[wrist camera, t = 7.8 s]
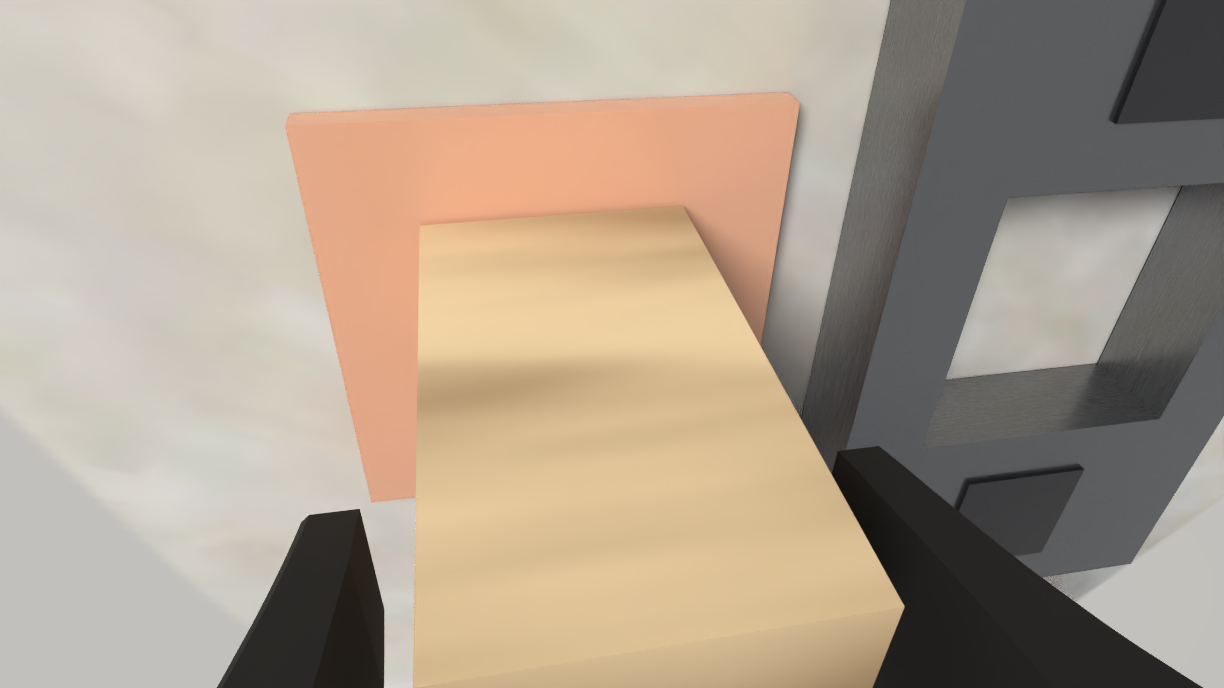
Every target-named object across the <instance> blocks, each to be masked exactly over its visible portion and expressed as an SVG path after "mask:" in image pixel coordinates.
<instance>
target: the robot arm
mask: <svg viewBox="0 0 1224 688" xmlns="http://www.w3.org/2000/svg"><path fill="white" fill-rule="evenodd" d="M832 476H833V478H834V480H835V482H836V484H837V485H838V487H839V489H840V491H841V493H842V494H843V496H844V498H845V500H846V502H847V503H848V505H849V507H850V509H851V511H852V512H853V514H854V516H855V518H856V520H857V521H858V523H859V525H860V527H861V529H862V531H863V532H864V534H865V536H866V538H867V540H868V541H869V543H870V545H871V547H872V549H873V550H874V552H875V554H876V556H877V558H878V559H879V561H880V563H881V565H882V567H883V568H884V570H885V572H886V574H887V576H888V578H889V579H890V581H891V583H892V585H893V587H894V588H895V590H896V592H897V594H898V596H899V597H900V599H901V601H902V603H903V605H904V606H905V607H904V610H903V612H902V615H901V617H900V620H899V622H898V625H897V627H896V630H895V632H894V635H893V637H892V640H891V642H890V645H889V647H888V650H887V652H886V655H885V657H884V660H883V662H882V665H881V667H880V670H879V672H878V675H877V678H876V680H875V683H874V685H873V688H1203V687H1201V686H1199V685H1198V684H1196V683H1194V682H1193V681H1191V680H1190V679H1188V678H1187V677H1185V676H1184V675H1182V674H1180V673H1179V672H1177V671H1176V670H1174V669H1173V668H1171V667H1169V666H1168V665H1166V664H1165V663H1163V662H1162V661H1160V660H1159V659H1157V658H1156V657H1154V656H1153V655H1151V654H1149V653H1148V652H1146V651H1145V650H1143V649H1141V648H1140V647H1138V646H1137V645H1135V644H1134V643H1132V642H1131V641H1129V640H1128V639H1127V638H1125V637H1124V636H1122V635H1121V634H1119V633H1118V632H1116V631H1115V630H1113V629H1112V628H1110V627H1109V626H1108V625H1106V624H1105V623H1103V622H1102V621H1100V620H1099V619H1098V618H1096V617H1095V616H1094V615H1092V614H1091V613H1089V612H1088V611H1087V610H1085V609H1084V608H1083V607H1081V606H1080V605H1078V604H1077V603H1076V602H1074V601H1073V600H1071V599H1070V598H1069V597H1067V596H1066V595H1065V594H1063V593H1062V592H1060V591H1059V590H1058V589H1056V588H1055V587H1054V586H1052V585H1051V584H1050V583H1048V582H1047V581H1046V580H1044V579H1043V578H1042V577H1040V576H1039V575H1038V574H1036V573H1035V572H1034V571H1032V570H1031V569H1030V568H1028V567H1027V566H1026V565H1025V564H1023V563H1022V562H1021V561H1020V560H1018V559H1017V558H1016V557H1014V556H1013V555H1012V554H1011V553H1009V552H1008V551H1007V550H1005V549H1004V548H1003V547H1002V546H1000V545H999V544H998V543H997V542H995V541H994V540H993V539H992V538H990V537H989V536H988V535H987V534H985V533H984V532H983V531H982V530H981V529H979V528H978V527H977V526H976V525H974V524H973V523H972V522H971V521H969V520H968V519H967V518H966V517H965V516H963V515H962V514H961V513H960V512H959V511H957V510H956V509H955V508H954V507H953V506H951V505H950V504H949V503H948V502H946V501H945V500H944V499H943V498H942V497H940V496H939V495H938V494H937V493H936V492H934V491H933V490H932V489H931V488H930V487H928V486H927V485H926V484H925V483H924V482H922V481H921V480H920V479H919V478H918V477H916V476H915V475H914V474H913V473H912V472H910V471H909V470H908V469H907V468H906V467H904V466H903V465H902V464H901V463H900V462H898V461H897V460H896V459H895V458H893V457H892V456H891V455H890V454H888V453H887V452H886V451H885V450H883V449H882V448H881V447H880V446H875V447H866V448H858V449H850V450H842V451H838V452H837V456H836V460H835V463H834V467H833V471H832ZM217 688H384V607H383V603H382V599H381V595H380V591H379V586H378V582H377V578H376V574H375V570H374V566H373V562H372V558H371V554H370V550H369V545H368V541H367V537H366V533H365V529H364V525H363V521H362V517H361V513H360V509H355V510H347V511H339V512H331V513H322V514H314V515H309V516H308V517H307V518H305V519H304V520H303V521H302V522H301V524H300V527H299V529H298V531H297V534H296V536H295V538H294V541H293V543H292V545H291V547H290V549H289V551H288V554H287V556H286V558H285V560H284V562H283V564H282V567H281V569H280V571H279V573H278V575H277V577H276V579H275V581H274V583H273V585H272V587H271V589H270V591H269V593H268V595H267V597H266V599H265V601H264V603H263V605H262V607H261V608H260V610H259V612H258V614H257V616H256V618H255V620H254V622H253V624H252V626H251V627H250V629H249V631H248V633H247V635H246V637H245V638H244V640H243V642H242V644H241V646H240V648H239V649H238V651H237V653H236V655H235V656H234V658H233V660H232V662H231V664H230V665H229V667H228V669H227V671H226V673H225V674H224V676H223V678H222V680H221V681H220V683H219V685H218V687H217Z"/></svg>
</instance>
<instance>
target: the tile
mask: <svg viewBox="0 0 1224 688" xmlns="http://www.w3.org/2000/svg"><path fill="white" fill-rule="evenodd" d="M799 106H800V102H799V101H798V100H797V99H796V98H795V97H794V96H793V95H792V94H790V93H789V92H784V93H761V94H738V95H714V96H691V97H668V98H644V99H621V100H598V101H575V102H551V103H528V104H505V105H481V106H458V107H435V108H412V109H388V110H365V111H342V112H318V113H295V114H290V115H289V117H288V120H287V122H286V124H285V128H286V132H287V136H288V141H289V145H290V149H291V154H292V158H293V162H294V167H295V171H296V175H297V180H298V184H299V189H300V193H301V197H302V202H303V206H304V210H305V215H306V219H307V223H308V228H309V232H310V236H311V241H312V245H313V250H314V254H315V258H316V263H317V267H318V271H319V276H320V280H321V284H322V289H323V293H324V297H325V302H326V306H327V310H328V315H329V319H330V324H331V328H332V332H333V337H334V341H335V345H336V350H337V354H338V358H339V363H340V367H341V371H342V376H343V380H344V385H345V389H346V393H347V398H348V402H349V406H350V411H351V415H352V419H353V424H354V428H355V432H356V437H357V441H358V445H359V450H360V454H361V459H362V463H363V467H364V472H365V476H366V480H367V485H368V489H369V493H370V498H371V502H380V501H389V500H397V499H405V498H413V497H416V443H417V373H418V304H419V235H420V225H433V224H447V223H460V222H473V221H486V220H499V219H512V218H525V217H538V216H551V215H564V214H577V213H590V212H603V211H616V210H629V209H642V208H655V207H668V206H681V205H683V207H684V209H685V211H686V212H687V214H688V216H689V218H690V220H691V221H692V223H693V225H694V227H695V229H696V230H697V232H698V234H699V236H700V238H701V239H702V241H703V243H704V245H705V247H706V249H707V250H708V252H709V254H710V256H711V258H712V259H713V261H714V263H715V265H716V267H717V268H718V270H719V272H720V274H721V276H722V277H723V279H724V281H725V283H726V285H727V286H728V288H729V290H730V292H731V294H732V296H733V297H734V299H735V301H736V303H737V305H738V306H739V308H740V310H741V312H742V314H743V315H744V317H745V319H746V321H747V323H748V324H749V326H750V328H751V330H752V332H753V333H754V335H755V337H756V339H757V341H758V343H759V344H760V346H761V341H762V335H763V328H764V322H765V316H766V310H767V304H768V298H769V291H770V285H771V279H772V273H773V267H774V261H775V254H776V248H777V242H778V236H779V230H780V224H781V217H782V211H783V205H784V199H785V193H786V187H787V180H788V174H789V168H790V162H791V156H792V150H793V143H794V137H795V131H796V125H797V119H798V113H799Z"/></svg>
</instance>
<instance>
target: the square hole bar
mask: <svg viewBox="0 0 1224 688" xmlns="http://www.w3.org/2000/svg"><path fill="white" fill-rule="evenodd" d="M1169 186H1183V187H1182V189H1181V191H1180V193H1179V195H1178V197H1177V199H1176V201H1175V203H1174V205H1173V208H1172V210H1171V212H1170V214H1169V216H1168V218H1167V220H1166V222H1165V224H1164V226H1163V228H1162V230H1161V233H1160V235H1159V237H1158V239H1157V241H1156V243H1155V245H1154V247H1153V249H1152V251H1151V253H1150V255H1149V258H1148V260H1147V262H1146V264H1145V266H1144V268H1143V270H1142V272H1141V274H1140V276H1139V278H1138V280H1137V282H1136V285H1135V287H1134V289H1133V291H1132V293H1131V295H1130V297H1129V299H1128V301H1127V303H1126V305H1125V307H1124V310H1123V312H1122V314H1121V316H1120V318H1119V320H1118V322H1117V324H1116V326H1115V328H1114V330H1113V332H1112V334H1111V337H1110V339H1109V341H1108V343H1107V345H1106V347H1105V349H1104V351H1103V353H1102V355H1101V357H1100V359H1099V362H1098V364H1090V365H1080V366H1071V367H1062V368H1053V369H1043V370H1034V371H1025V372H1016V373H1007V374H997V375H988V376H979V377H970V378H961V379H951V380H945V379H946V376H947V373H948V370H949V367H950V364H951V361H952V358H953V356H954V353H955V350H956V347H957V344H958V341H959V338H960V335H961V332H962V329H963V326H964V324H965V321H966V318H967V315H968V312H969V309H970V306H971V303H972V300H973V297H974V294H975V291H976V289H977V286H978V283H979V280H980V277H981V274H982V271H983V268H984V265H985V262H986V259H987V256H988V254H989V251H990V248H991V245H992V242H993V239H994V236H995V233H996V230H997V227H998V224H999V221H1000V219H1001V216H1002V213H1003V210H1004V207H1005V204H1006V201H1007V198H1010V197H1024V196H1039V195H1053V194H1068V193H1082V192H1097V191H1111V190H1126V189H1140V188H1155V187H1169ZM1223 416H1224V0H891V3H890V7H889V12H888V17H887V21H886V26H885V31H884V35H883V40H882V45H881V49H880V54H879V59H878V63H877V68H876V73H875V77H874V82H873V87H872V91H871V96H870V101H869V105H868V110H867V115H866V119H865V124H864V129H863V133H862V138H861V143H860V147H859V152H858V157H857V161H856V166H855V171H854V175H853V180H852V185H851V189H850V194H849V199H848V204H847V208H846V213H845V218H844V222H843V227H842V232H841V236H840V241H839V246H838V250H837V255H836V260H835V264H834V269H833V274H832V278H831V283H830V288H829V292H828V297H827V302H826V306H825V311H824V316H823V320H822V325H821V330H820V334H819V339H818V344H817V348H816V353H815V358H814V362H813V367H812V372H811V376H810V381H809V386H808V390H807V395H806V400H805V404H804V409H803V414H802V418H801V420H802V422H803V424H804V426H805V427H806V429H807V431H808V433H809V435H810V437H811V438H812V440H813V442H814V444H815V446H816V447H817V449H818V451H819V453H820V455H821V456H822V458H823V460H824V462H825V464H826V465H827V467H828V469H829V471H830V473H831V474H832V471H833V467H834V463H835V460H836V456H837V452H838V451H842V450H850V449H858V448H866V447H875V446H880V447H881V448H882V449H883V450H885V451H886V452H887V453H888V454H890V455H891V456H892V457H893V458H895V459H896V460H897V461H898V462H900V463H901V464H902V465H903V466H904V467H906V468H907V469H908V470H909V471H910V472H912V473H913V474H914V475H915V476H916V477H918V478H919V479H920V480H921V481H922V482H924V483H925V484H926V485H927V486H928V487H930V488H931V489H932V490H933V491H934V492H936V493H937V494H938V495H939V496H940V497H942V498H943V499H944V500H945V501H946V502H948V503H949V504H950V505H951V506H953V507H954V508H955V509H956V510H957V511H959V512H960V513H961V514H962V515H963V516H965V517H966V518H967V519H968V520H969V521H971V522H972V523H973V524H974V525H976V526H977V527H978V528H979V529H981V530H982V531H983V532H984V533H985V534H987V535H988V536H989V537H990V538H992V539H993V540H994V541H995V542H997V543H998V544H999V545H1000V546H1002V547H1003V548H1004V549H1005V550H1007V551H1008V552H1009V553H1011V554H1012V555H1013V556H1014V557H1016V558H1017V559H1018V560H1020V561H1021V562H1022V563H1023V564H1025V565H1026V566H1027V567H1028V568H1030V569H1031V570H1032V571H1034V572H1035V573H1036V574H1038V575H1039V576H1040V577H1047V576H1054V575H1060V574H1067V573H1073V572H1079V571H1086V570H1092V569H1099V568H1105V567H1111V566H1118V565H1124V564H1131V562H1132V561H1133V559H1134V558H1135V556H1136V554H1137V553H1138V551H1139V550H1140V548H1141V546H1142V545H1143V543H1144V542H1145V540H1146V539H1147V537H1148V535H1149V534H1150V532H1151V531H1152V529H1153V527H1154V526H1155V524H1156V523H1157V521H1158V519H1159V518H1160V516H1161V515H1162V513H1163V512H1164V510H1165V508H1166V507H1167V505H1168V504H1169V502H1170V500H1171V499H1172V497H1173V496H1174V494H1175V493H1176V491H1177V489H1178V488H1179V486H1180V485H1181V483H1182V481H1183V480H1184V478H1185V477H1186V475H1187V473H1188V472H1189V470H1190V469H1191V467H1192V466H1193V464H1194V462H1195V461H1196V459H1197V458H1198V456H1199V454H1200V453H1201V451H1202V450H1203V448H1204V446H1205V445H1206V443H1207V442H1208V440H1209V439H1210V437H1211V435H1212V434H1213V432H1214V431H1215V429H1216V427H1217V426H1218V424H1219V423H1220V421H1221V419H1222V418H1223Z"/></svg>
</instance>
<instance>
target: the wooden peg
mask: <svg viewBox="0 0 1224 688" xmlns="http://www.w3.org/2000/svg"><path fill="white" fill-rule="evenodd" d="M904 607H905V606H904V605H903V603H902V601H901V599H900V597H899V596H898V594H897V592H896V590H895V588H894V587H893V585H892V583H891V581H890V579H889V578H888V576H887V574H886V572H885V570H884V568H883V567H882V565H881V563H880V561H879V559H878V558H877V556H876V554H875V552H874V550H873V549H872V547H871V545H870V543H869V541H868V540H867V538H866V536H865V534H864V532H863V531H862V529H861V527H860V525H859V523H858V521H857V520H856V518H855V516H854V514H853V512H852V511H851V509H850V507H849V505H848V503H847V502H846V500H845V498H844V496H843V494H842V493H841V491H840V489H839V487H838V485H837V484H836V482H835V480H834V478H833V476H832V474H831V473H830V471H829V469H828V467H827V465H826V464H825V462H824V460H823V458H822V456H821V455H820V453H819V451H818V449H817V447H816V446H815V444H814V442H813V440H812V438H811V437H810V435H809V433H808V431H807V429H806V427H805V426H804V424H803V422H802V420H801V418H800V417H799V415H798V413H797V411H796V409H795V408H794V406H793V404H792V402H791V400H790V399H789V397H788V395H787V393H786V391H785V390H784V388H783V386H782V384H781V382H780V380H779V379H778V377H777V375H776V373H775V371H774V370H773V368H772V366H771V364H770V362H769V361H768V359H767V357H766V355H765V353H764V352H763V350H762V348H761V346H760V344H759V343H758V341H757V339H756V337H755V335H754V333H753V332H752V330H751V328H750V326H749V324H748V323H747V321H746V319H745V317H744V315H743V314H742V312H741V310H740V308H739V306H738V305H737V303H736V301H735V299H734V297H733V296H732V294H731V292H730V290H729V288H728V286H727V285H726V283H725V281H724V279H723V277H722V276H721V274H720V272H719V270H718V268H717V267H716V265H715V263H714V261H713V259H712V258H711V256H710V254H709V252H708V250H707V249H706V247H705V245H704V243H703V241H702V239H701V238H700V236H699V234H698V232H697V230H696V229H695V227H694V225H693V223H692V221H691V220H690V218H689V216H688V214H687V212H686V211H685V209H684V207H683V205H681V206H668V207H655V208H642V209H629V210H616V211H603V212H590V213H577V214H564V215H551V216H538V217H525V218H512V219H499V220H486V221H473V222H460V223H447V224H433V225H420V235H419V304H418V373H417V443H416V512H415V581H414V651H413V688H873V685H874V683H875V680H876V678H877V675H878V672H879V670H880V667H881V665H882V662H883V660H884V657H885V655H886V652H887V650H888V647H889V645H890V642H891V640H892V637H893V635H894V632H895V630H896V627H897V625H898V622H899V620H900V617H901V615H902V612H903V610H904Z"/></svg>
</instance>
